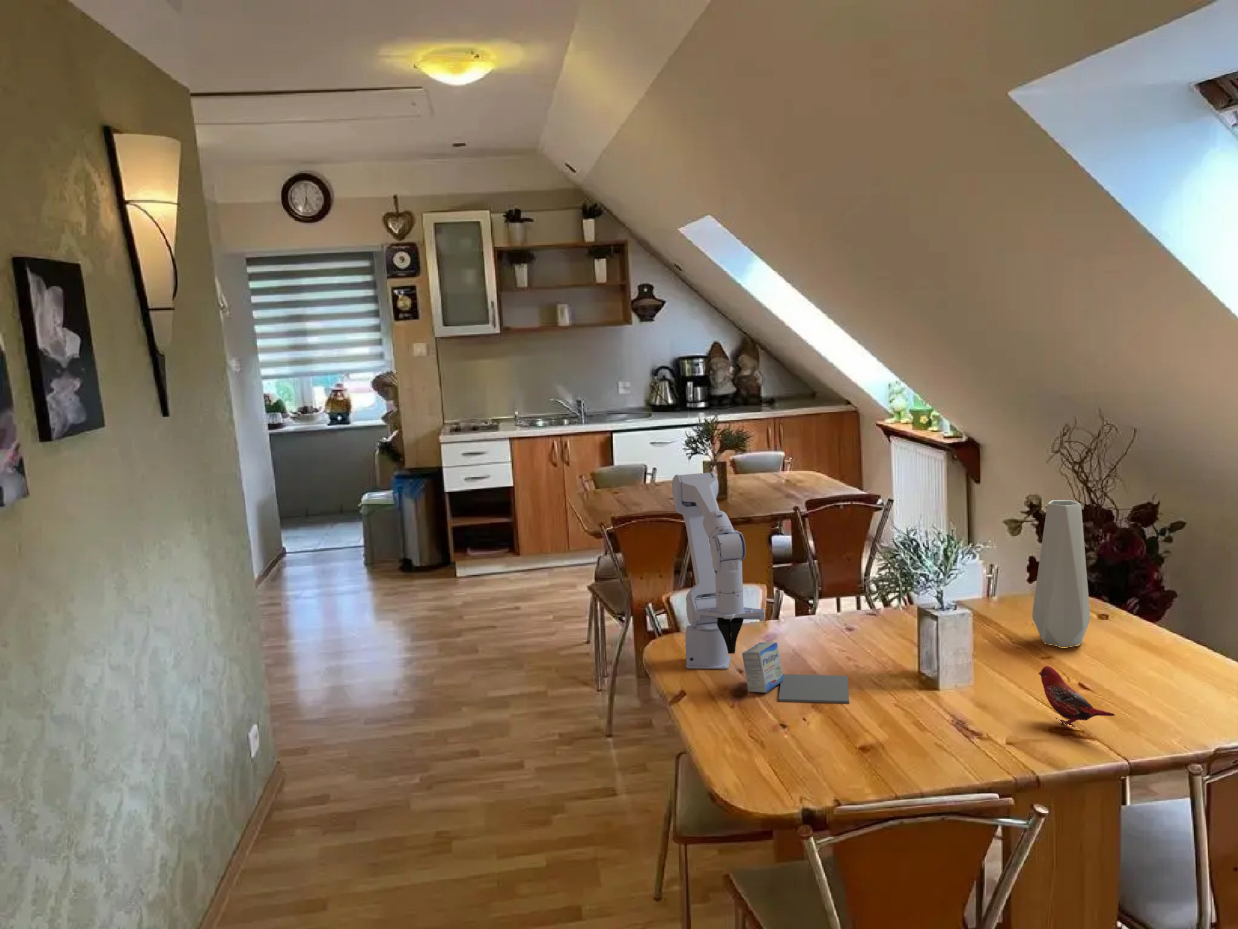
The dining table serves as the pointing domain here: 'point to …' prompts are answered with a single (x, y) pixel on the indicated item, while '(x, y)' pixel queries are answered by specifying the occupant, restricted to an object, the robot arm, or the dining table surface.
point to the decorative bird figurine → (1067, 698)
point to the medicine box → (762, 667)
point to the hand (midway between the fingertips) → (731, 652)
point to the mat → (814, 688)
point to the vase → (1062, 577)
